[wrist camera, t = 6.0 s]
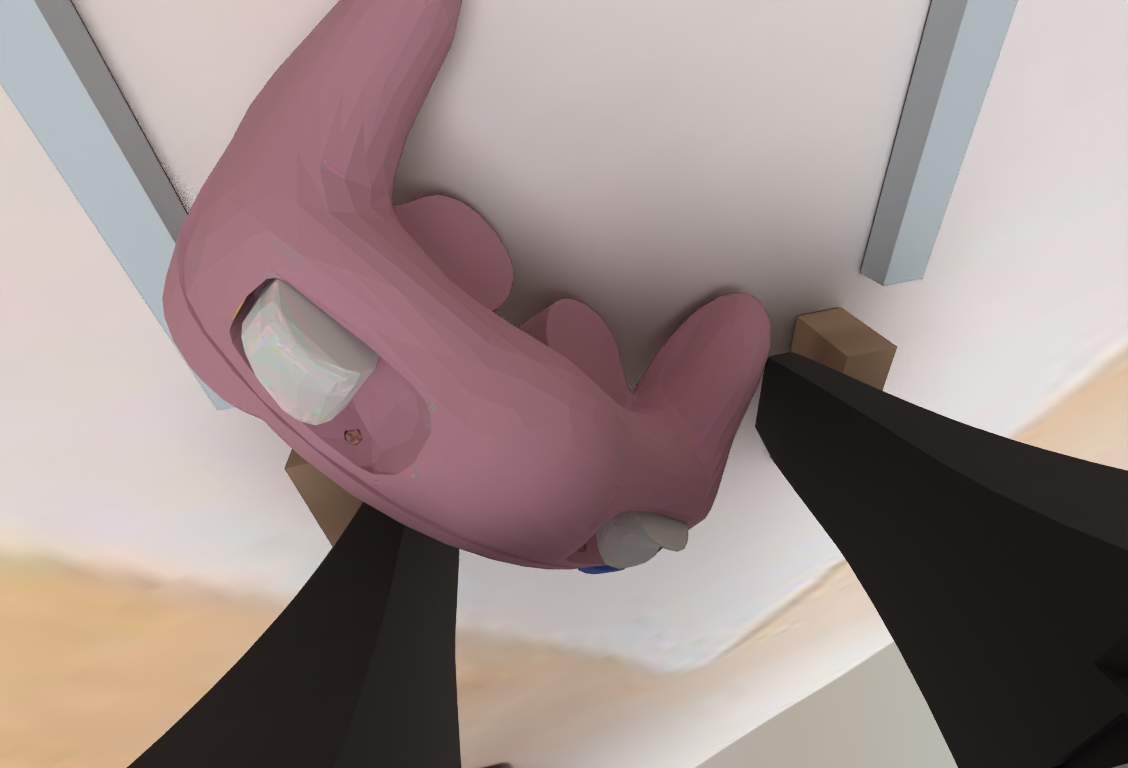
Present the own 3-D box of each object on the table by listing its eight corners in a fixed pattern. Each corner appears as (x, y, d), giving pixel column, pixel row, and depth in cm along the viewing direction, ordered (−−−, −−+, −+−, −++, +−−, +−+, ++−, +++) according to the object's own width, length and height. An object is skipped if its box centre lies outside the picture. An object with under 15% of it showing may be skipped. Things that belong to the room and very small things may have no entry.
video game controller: (300, 111, 10) (15, 413, 5) (421, -125, 7) (2, 149, 3) (629, 371, 15) (608, 630, 10) (780, 301, 12) (832, 624, 8)
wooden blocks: (805, 449, 16) (846, 496, 14) (377, 540, 15) (367, 603, 13) (840, 307, 13) (897, 346, 11) (308, 408, 12) (284, 468, 10)
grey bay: (897, 265, 12) (922, 278, 12) (231, 388, 11) (217, 409, 10) (1167, -609, 6) (1254, -688, 5) (-371, -578, 5) (-508, -679, 4)
